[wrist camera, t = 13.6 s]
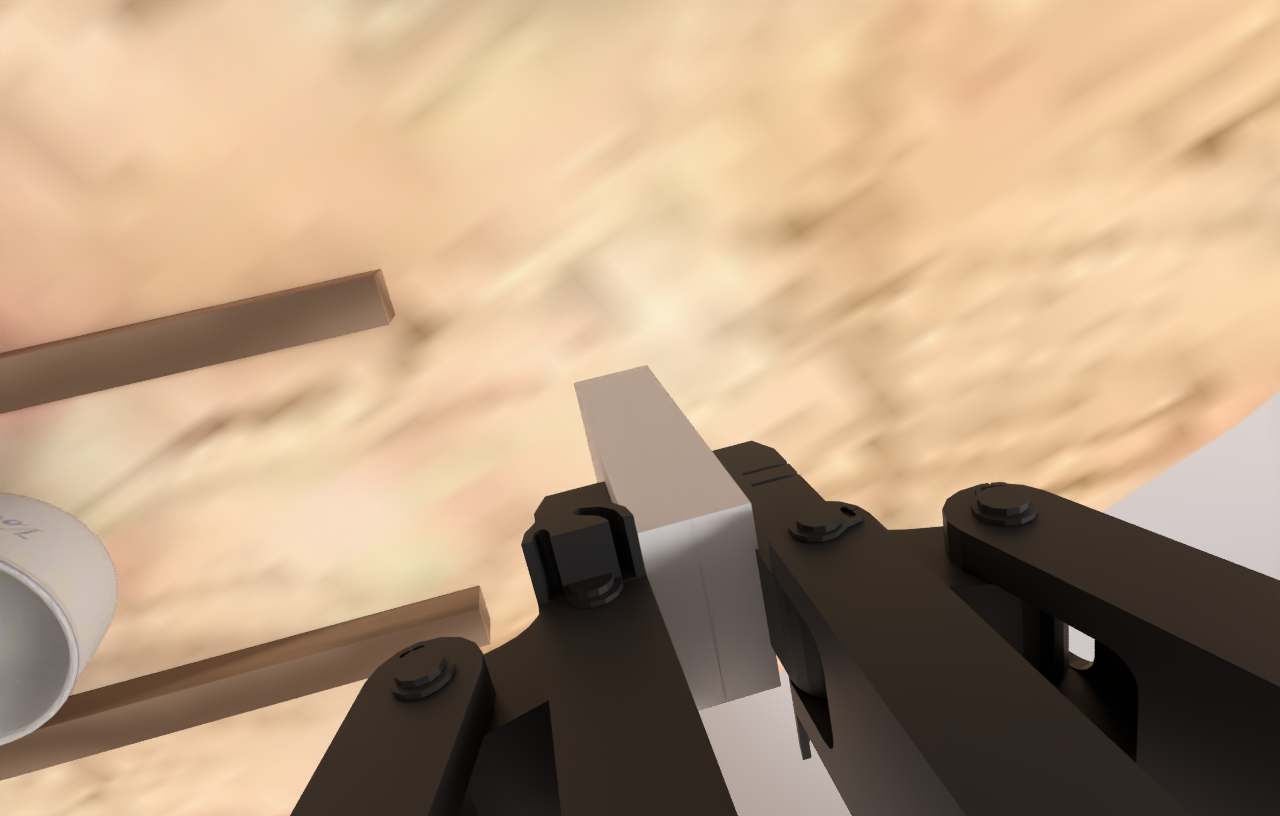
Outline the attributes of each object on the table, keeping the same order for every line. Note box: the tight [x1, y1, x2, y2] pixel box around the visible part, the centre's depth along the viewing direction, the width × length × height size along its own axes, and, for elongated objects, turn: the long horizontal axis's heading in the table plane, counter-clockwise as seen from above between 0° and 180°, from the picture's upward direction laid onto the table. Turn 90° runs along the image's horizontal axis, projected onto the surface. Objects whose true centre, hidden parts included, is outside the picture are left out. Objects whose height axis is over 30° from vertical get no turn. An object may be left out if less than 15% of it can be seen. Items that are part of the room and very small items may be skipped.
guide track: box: [0, 269, 490, 781], centre depth 38 cm, size 22×32×5 cm
